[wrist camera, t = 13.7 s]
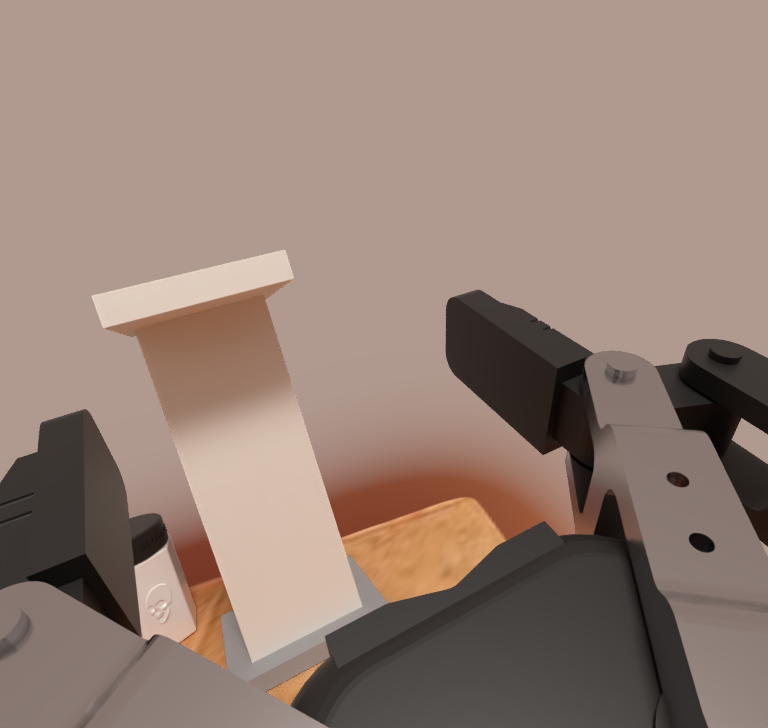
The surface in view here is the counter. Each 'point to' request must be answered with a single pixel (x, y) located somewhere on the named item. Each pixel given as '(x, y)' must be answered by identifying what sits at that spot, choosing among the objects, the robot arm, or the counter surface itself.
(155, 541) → the jar
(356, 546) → the counter surface
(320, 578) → the pedestal stand
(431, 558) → the counter surface
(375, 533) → the counter surface
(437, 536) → the counter surface
